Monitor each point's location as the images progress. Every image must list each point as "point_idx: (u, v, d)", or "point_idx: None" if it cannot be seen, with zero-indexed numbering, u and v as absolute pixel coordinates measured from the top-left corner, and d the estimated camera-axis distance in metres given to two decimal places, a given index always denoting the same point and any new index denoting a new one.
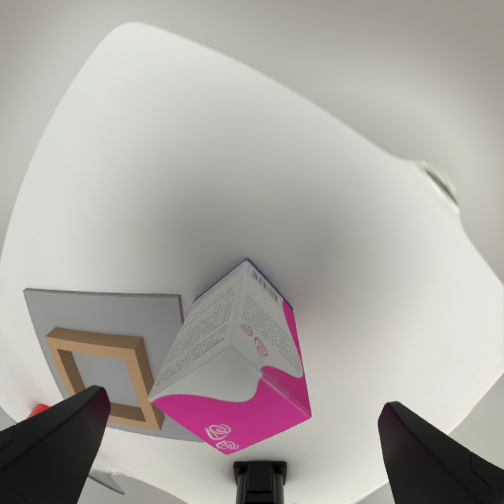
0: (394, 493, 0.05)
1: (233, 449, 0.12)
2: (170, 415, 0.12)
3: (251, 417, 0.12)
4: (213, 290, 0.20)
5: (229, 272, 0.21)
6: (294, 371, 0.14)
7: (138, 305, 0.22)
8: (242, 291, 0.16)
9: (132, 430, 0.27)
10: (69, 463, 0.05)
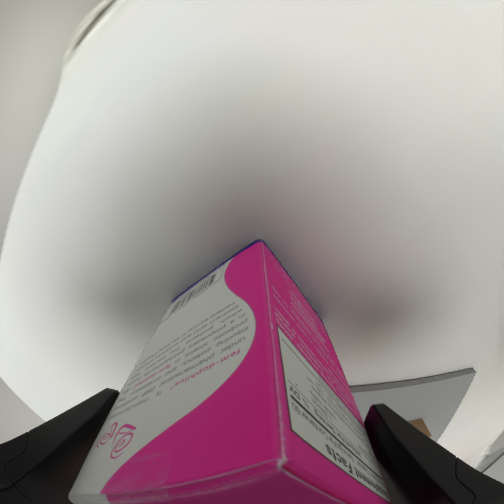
0: None
1: None
2: None
3: None
4: None
5: None
6: (213, 379, 0.05)
7: None
8: (132, 371, 0.09)
9: None
10: None
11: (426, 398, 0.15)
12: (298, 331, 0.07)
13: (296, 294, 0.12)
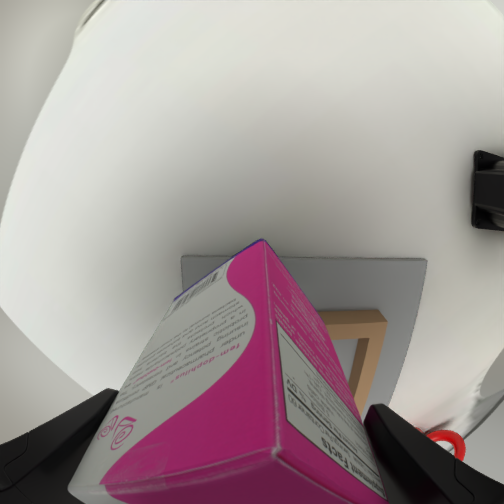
0: None
1: None
2: None
3: None
4: None
5: None
6: (213, 372, 0.05)
7: None
8: (134, 367, 0.09)
9: (401, 358, 0.21)
10: None
11: (375, 281, 0.19)
12: (297, 328, 0.08)
13: (297, 293, 0.12)
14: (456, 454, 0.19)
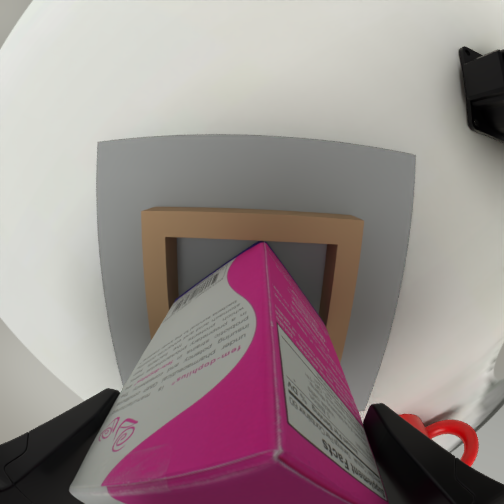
0: None
1: None
2: None
3: None
4: None
5: None
6: (214, 374, 0.05)
7: (107, 202, 0.15)
8: (134, 368, 0.09)
9: (392, 301, 0.16)
10: None
11: (343, 171, 0.14)
12: (298, 330, 0.08)
13: (297, 294, 0.12)
14: (467, 451, 0.14)
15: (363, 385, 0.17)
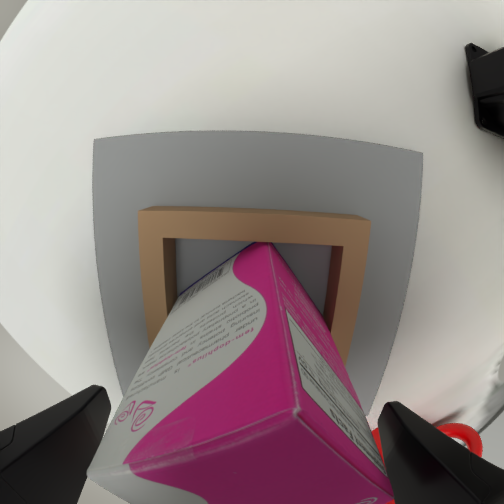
0: (394, 493, 0.05)
1: (376, 499, 0.04)
2: None
3: (262, 499, 0.04)
4: None
5: None
6: (230, 353, 0.06)
7: (103, 201, 0.14)
8: (145, 356, 0.09)
9: (398, 304, 0.15)
10: (69, 463, 0.05)
11: (349, 169, 0.13)
12: (302, 317, 0.08)
13: (298, 287, 0.12)
14: None
15: (367, 389, 0.17)
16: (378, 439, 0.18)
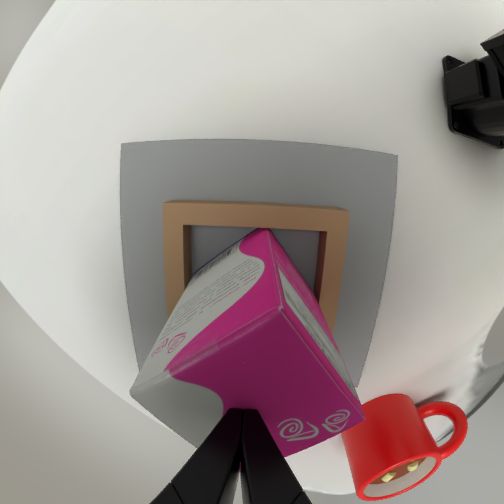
0: None
1: (349, 414, 0.08)
2: None
3: (261, 395, 0.07)
4: None
5: None
6: (240, 292, 0.09)
7: (129, 196, 0.17)
8: (171, 315, 0.13)
9: (378, 283, 0.18)
10: None
11: (333, 170, 0.17)
12: (291, 278, 0.12)
13: (291, 264, 0.16)
14: (456, 430, 0.16)
15: (355, 361, 0.20)
16: (368, 412, 0.21)
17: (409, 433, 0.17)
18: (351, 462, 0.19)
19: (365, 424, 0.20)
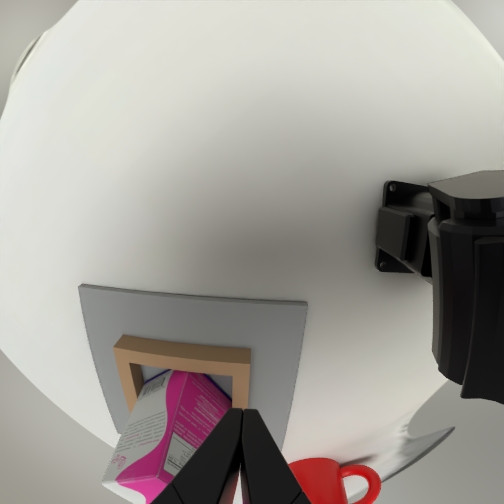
0: None
1: None
2: None
3: None
4: None
5: None
6: (150, 447, 0.13)
7: (91, 326, 0.21)
8: (124, 428, 0.16)
9: (288, 396, 0.22)
10: None
11: (244, 322, 0.20)
12: (189, 427, 0.15)
13: (206, 394, 0.19)
14: (368, 493, 0.20)
15: (275, 440, 0.24)
16: (292, 470, 0.25)
17: (319, 494, 0.20)
18: None
19: None
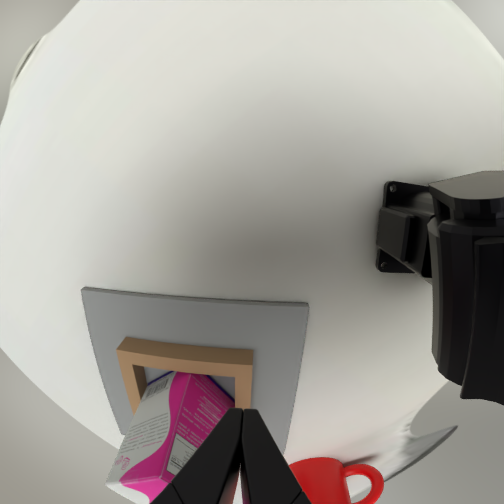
0: None
1: None
2: None
3: None
4: None
5: None
6: (153, 449, 0.13)
7: (94, 328, 0.21)
8: None
9: (290, 396, 0.22)
10: None
11: (246, 323, 0.20)
12: (192, 428, 0.16)
13: (209, 395, 0.20)
14: (370, 493, 0.20)
15: (278, 440, 0.24)
16: (295, 470, 0.25)
17: (322, 493, 0.20)
18: None
19: None
